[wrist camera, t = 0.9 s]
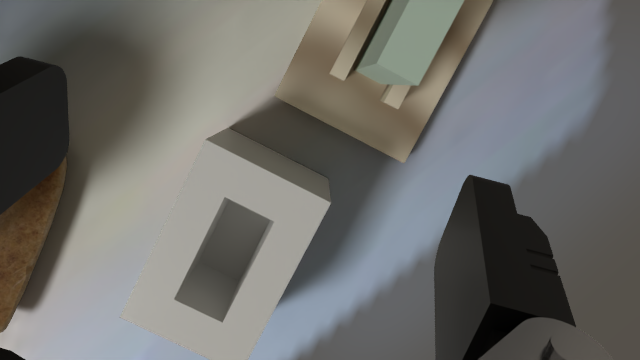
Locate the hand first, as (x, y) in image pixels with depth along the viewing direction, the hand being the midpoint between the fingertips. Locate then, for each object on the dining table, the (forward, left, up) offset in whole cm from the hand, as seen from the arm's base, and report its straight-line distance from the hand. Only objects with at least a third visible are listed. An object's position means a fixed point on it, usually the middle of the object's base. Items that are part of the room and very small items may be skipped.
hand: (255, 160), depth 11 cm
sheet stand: (+8, -6, -28) cm, 30 cm away
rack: (-4, +8, -28) cm, 30 cm away
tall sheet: (-3, +6, -27) cm, 28 cm away
